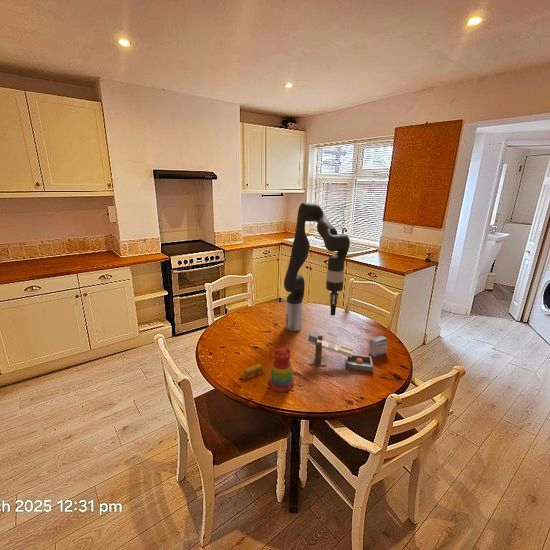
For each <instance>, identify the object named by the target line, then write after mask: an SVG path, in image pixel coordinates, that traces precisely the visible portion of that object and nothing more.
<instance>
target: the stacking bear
mask: <svg viewBox="0 0 550 550" xmlns="http://www.w3.org/2000/svg"><path fill="white" fill-rule="evenodd" d="M273 358H274V360H273V362H272V365H271V369H270V377H269V380H268V381H269V386H270V388H272V390H274V391H275V392H277V393H287V392H289V391H291V389H293V388H294V385H295V380H294V377H293V376H294V369H293V365H292V362H291V360H290V359H291V350H290V348H285V347H279V348H277V349H275V350H274V352H273Z"/></svg>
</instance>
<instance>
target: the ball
mask: <svg viewBox="0 0 550 550" xmlns="http://www.w3.org/2000/svg"><path fill="white" fill-rule="evenodd" d="M356 363H357V364H360V365H362V363H363V360H362V359H361V358H358V359H356Z"/></svg>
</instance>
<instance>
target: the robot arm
mask: <svg viewBox="0 0 550 550" xmlns="http://www.w3.org/2000/svg"><path fill="white" fill-rule="evenodd" d="M297 210H298V211H297V218H296V227H295V233H294V239H293V242H292V247H291V251H290V252H291V253H290V259H289V263H288V266H287V271H286V273H285V275H284V279H283V286H284V289H285V291H286V292H288V293H289V294H288V295H287V296H286V314H285V330H288V331H291V332H299V331H301V330H302V328H303V299H304V297H305V284H306V282H305V278H304V277H303V276H302V274H300V273H299V270H300V269H301V268H302V267H303V265H304V263H305V262H306V260H307V259H308V256H309V253H310V248H311V244H310V240H309V238H308V236H307V233H306V229H305V228H306V222H310V223H312V222H314V223H317V225H316V231H317V233H318V234H319V236H320V237H321V238H322V240H323V243H324V246H325V249H326V250H327V251H329V252H336V253H335V254H333V255H331V256H329V257H328V258H327V259H328V260H327V272H326V280H325V281H326V284H325V289H326V290H327V291H328V292H329V304H330V305H329V307H330V314H329V315H330V316H333V317H335V316H336V311H337V310H336V309H337V304H338V301H339V300H338V299H339V292H341V291H343V289H344V278H345V272H344V271H345V260H346V259H347V255H348V252H349V248H350V246H351V240H350V237H349V236H348V235H346V234H338V230H337V229H336V228H335V227H334V226H333V225H332V223H331V222H330V221H329V219H328V218H327V217H326V214H325V212H324V210H323V208H322V207H321V206H320V204H317V203H311V202H302V203H300V205H299V207H298V209H297Z"/></svg>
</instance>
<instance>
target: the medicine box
mask: <svg viewBox="0 0 550 550" xmlns="http://www.w3.org/2000/svg"><path fill="white" fill-rule="evenodd" d="M368 347H369V348H368V354H369V356H371V357H374V358H377V357H380V356H383V355H385V354H387V349H388V338H387V337H385V336H383V335H379V336H375V337H372V338H371V337H370V338H369V346H368Z"/></svg>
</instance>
